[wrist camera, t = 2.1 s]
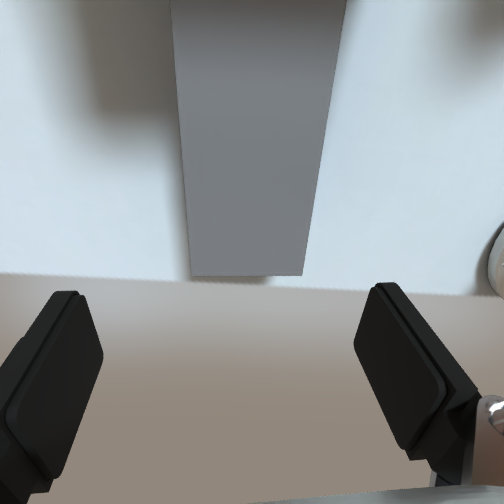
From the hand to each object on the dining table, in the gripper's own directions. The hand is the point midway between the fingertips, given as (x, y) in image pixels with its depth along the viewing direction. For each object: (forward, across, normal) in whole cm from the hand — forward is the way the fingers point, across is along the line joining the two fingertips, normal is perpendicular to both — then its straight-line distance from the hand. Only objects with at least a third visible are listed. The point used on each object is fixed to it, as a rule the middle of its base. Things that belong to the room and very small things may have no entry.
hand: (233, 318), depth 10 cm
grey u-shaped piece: (+11, -1, -4) cm, 12 cm away
